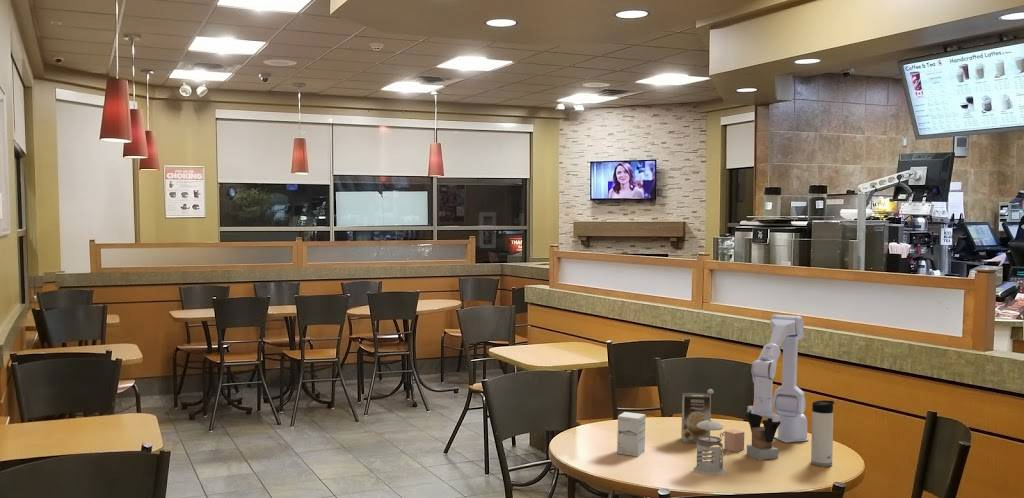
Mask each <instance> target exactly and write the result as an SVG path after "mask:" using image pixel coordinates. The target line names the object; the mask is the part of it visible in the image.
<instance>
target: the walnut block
mask: <svg viewBox="0 0 1024 498" xmlns="http://www.w3.org/2000/svg"><path fill="white" fill-rule="evenodd" d="M751 445H752V446H753V447H756V448H758V449H769V448H772V446H773V442H766V438H765V428H764V425H763V426H760V427H752V432H751Z"/></svg>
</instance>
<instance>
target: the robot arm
mask: <svg viewBox="0 0 1024 498" xmlns="http://www.w3.org/2000/svg"><path fill="white" fill-rule="evenodd" d="M804 324H805V323H804V319H803V317H802V316H801V315H788V314H787V315H785V314H777V313H774V314H772V316H771V318H770V324H769V326H770V330H771V335H770V338H769V341H768V343H766V344H764V346H763V348H762V349H761V351H760V354H759V356H758V358H757V359H756V360H753V361H752V364H751V369H750V371H751V375H752V383H753V390H754V391H753V405H748V406H746V407H747V413H746V414H745V418H746V419H747V422H748V424H749V427H750V428H749V429H750V432H751V433H752V427H761V423H762V424H763V426H764V428H765V438H766V442H772V443H774V439H777V440H778V441H781V442H784V443H786V444H787V443H796V442H806V441H807V442H808V441H809V438H808V420H807V416H806V415H805V414H804V412H805V410H806V396H805V392H804V391H803V390H802V389H801V388H800V387H798V386H797V377H798V355H799V354H798V347H799V340H801V339H803V337H804V327H805V325H804ZM782 344H783V345H782ZM781 346H782V351H781V349H780V348H781ZM781 352H782V373H781V376H782V377H781V385H780V386H779V387H777V388H776V389H775V391H774V392H773V388H774V387H773V385H774V383H773V380H774V378H775V376H776V373H777V372H776V371H777V367H778V365H777V363H778V360H779V358H780V356H781ZM773 393H774V394H773ZM773 410H774V411H773ZM763 418H765V419H764V420H763ZM776 433H777V435H776Z"/></svg>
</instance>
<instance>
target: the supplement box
mask: <svg viewBox="0 0 1024 498" xmlns="http://www.w3.org/2000/svg"><path fill="white" fill-rule="evenodd" d="M646 416H647V415H646V414H644V413H636V412H628V411H624V412H622V413H620V414H619V415H618V416H617V435H616V436H617V441H616V443H617V445H616V447H617V448H616V450H617V451H616V454H617V455H626V456H630V457H631V456H632V457H638V458H639V456H641V455H643V454H644V453H645V450H646V449H645V448H646Z"/></svg>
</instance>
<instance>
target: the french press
mask: <svg viewBox="0 0 1024 498" xmlns="http://www.w3.org/2000/svg"><path fill="white" fill-rule="evenodd" d="M714 393H715V392H714V389H712V388H709V389H708V390H707V392H706V394H709V395H710V415H711V411H712V410H711V407H712V405H711V404H712V399H711V397H712V394H714ZM697 427H698V428H700V429H703V430H710V431H720V430H722V429H724V425H723V424H721V423H720V422H719V421H717V420H712V419H710V420H706V421H702V422H699V423H698V424H697ZM725 434H726V433H725V431H723V432H720V434H719V436H714V435H711V433H710V434H709V436H700V437H698V440H699V442H697V443H696V465H695V466H694V467H693V468H692V469H693V471H694V472H695V473H698V474H702V475H707V476H720V475H724V474H725V473H727V471H726V469H725V468H724V465H723V464H724V457H726V456H728V455H729V454H730V452H732V451H731V448H730V450H729V441H728V439H727V437H726V436H725ZM726 435H727V434H726ZM727 436H728V435H727ZM722 437H724V438H725V437H726V439H727V441H728V450H727V451H726V453H725V454H723V451H724V450H723V449H724V445H723V444H724V443H722V441H723V439H722ZM728 437H729V436H728ZM729 439H730V437H729ZM730 442H731V439H730ZM731 445H732V443H731ZM714 446H715V447H714Z"/></svg>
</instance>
